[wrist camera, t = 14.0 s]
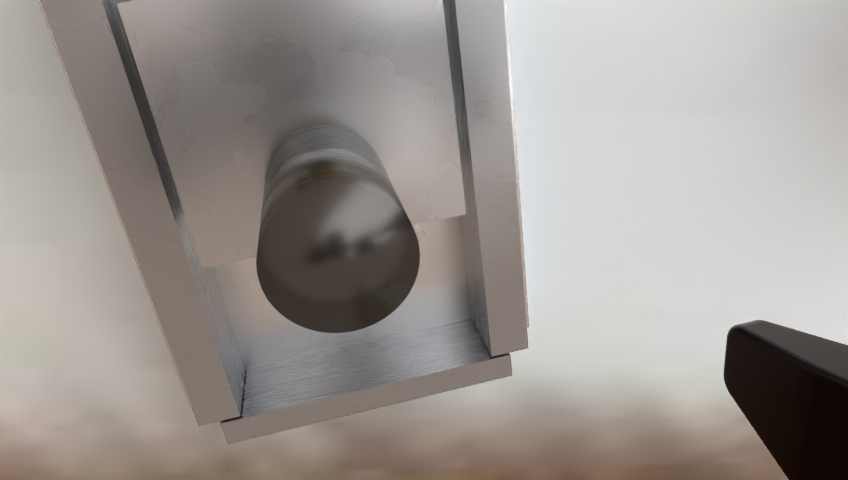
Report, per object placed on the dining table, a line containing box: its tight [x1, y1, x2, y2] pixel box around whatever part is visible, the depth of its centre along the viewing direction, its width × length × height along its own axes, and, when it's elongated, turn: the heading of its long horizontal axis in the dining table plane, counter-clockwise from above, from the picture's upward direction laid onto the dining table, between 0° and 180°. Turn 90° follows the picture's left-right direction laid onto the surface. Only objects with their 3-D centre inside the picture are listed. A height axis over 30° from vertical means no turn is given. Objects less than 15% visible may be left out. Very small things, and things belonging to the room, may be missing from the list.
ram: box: [117, 0, 466, 333], centre depth 13 cm, size 7×9×8 cm
